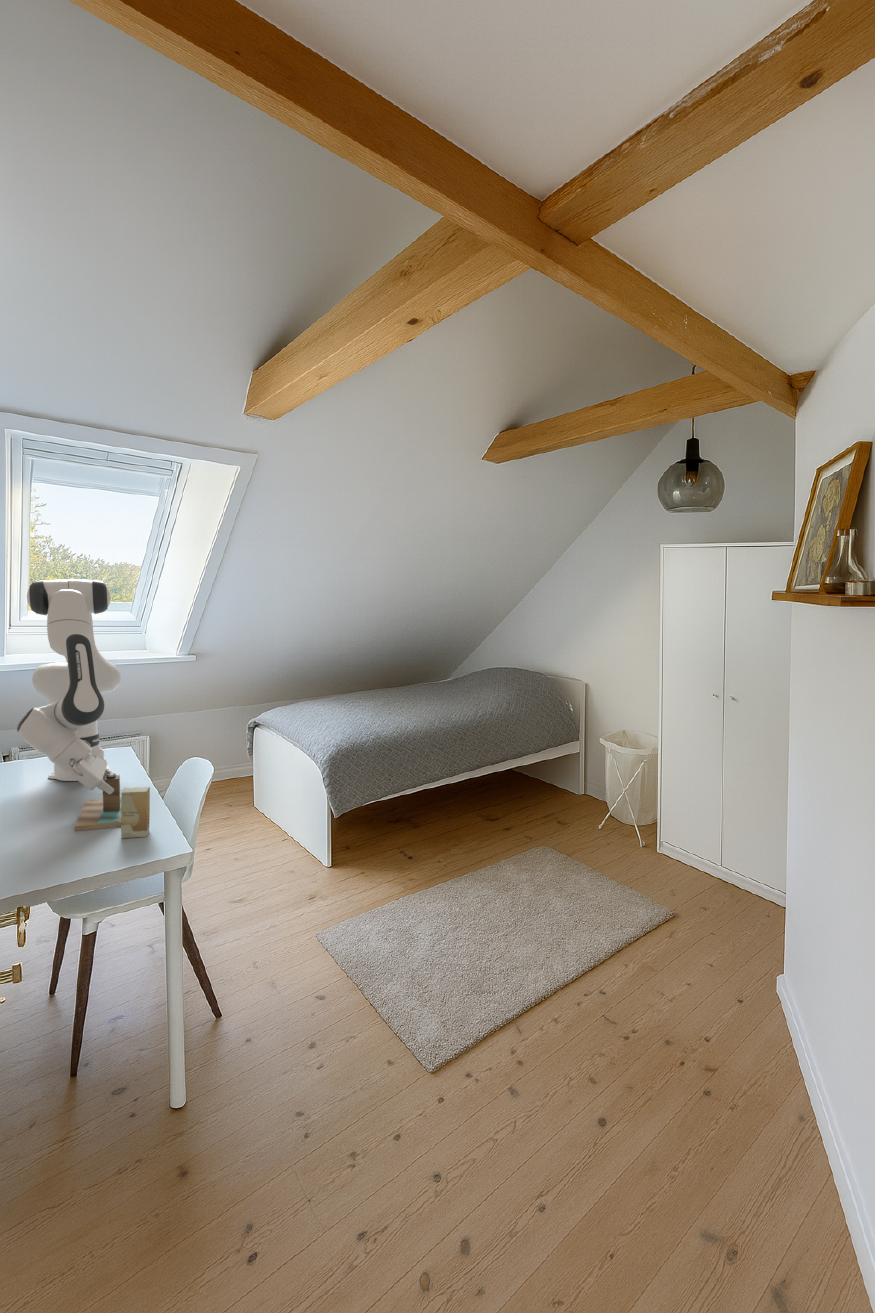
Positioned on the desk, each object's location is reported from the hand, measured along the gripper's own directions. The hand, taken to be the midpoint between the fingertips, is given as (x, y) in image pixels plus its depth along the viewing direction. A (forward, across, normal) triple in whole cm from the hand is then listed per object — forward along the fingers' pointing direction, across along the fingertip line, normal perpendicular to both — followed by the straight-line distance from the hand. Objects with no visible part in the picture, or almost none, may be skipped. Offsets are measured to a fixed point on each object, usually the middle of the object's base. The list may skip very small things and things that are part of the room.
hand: (113, 787), depth 178 cm
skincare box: (+10, -19, +1) cm, 22 cm away
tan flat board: (+5, 0, +6) cm, 8 cm away
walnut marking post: (+4, 0, +5) cm, 6 cm away
